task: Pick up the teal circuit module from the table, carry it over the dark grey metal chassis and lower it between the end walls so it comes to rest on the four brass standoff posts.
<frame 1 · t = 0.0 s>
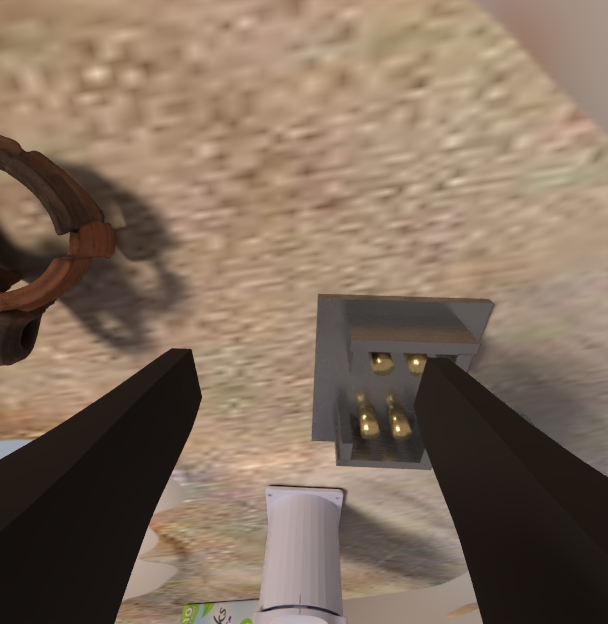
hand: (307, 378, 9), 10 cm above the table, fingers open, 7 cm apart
pottery mug: (47, 239, 18), on the table
snack box: (249, 602, 48), on the table
chassis: (385, 377, 22), on the table
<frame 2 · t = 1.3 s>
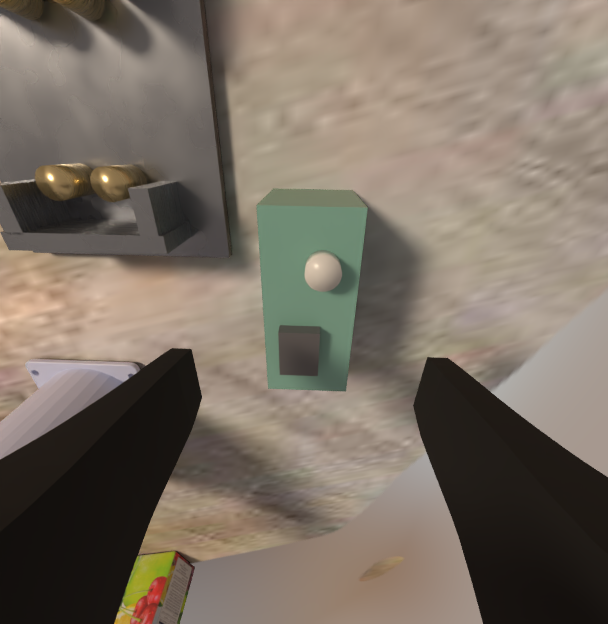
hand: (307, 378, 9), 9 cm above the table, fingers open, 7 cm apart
board: (310, 271, 17), on the table
snack box: (118, 563, 39), on the table
chassis: (94, 101, 13), on the table
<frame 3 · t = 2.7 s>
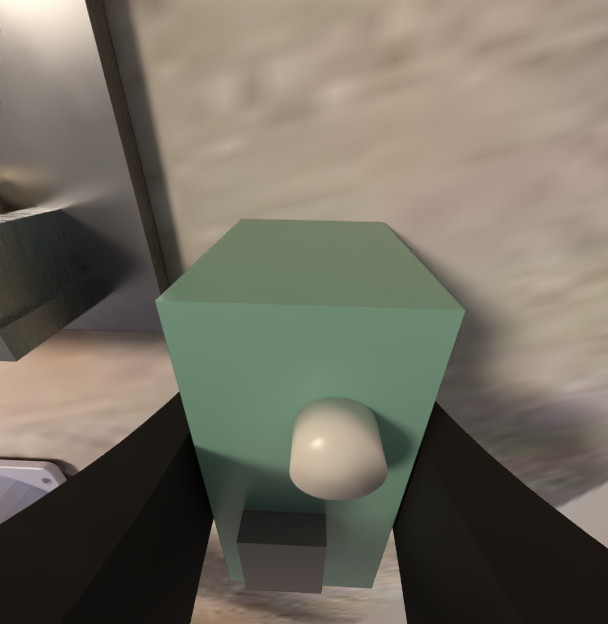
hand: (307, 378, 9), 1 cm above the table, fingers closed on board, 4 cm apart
board: (308, 349, 10), on the table, touching gripper
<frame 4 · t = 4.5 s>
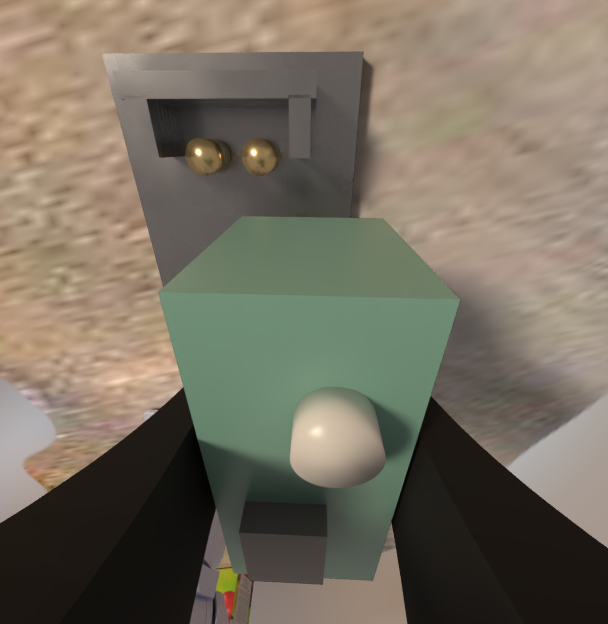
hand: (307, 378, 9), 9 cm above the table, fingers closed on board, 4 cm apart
board: (309, 346, 10), point 8 cm above the table, touching gripper
snack box: (181, 577, 42), on the table
chassis: (249, 221, 16), on the table
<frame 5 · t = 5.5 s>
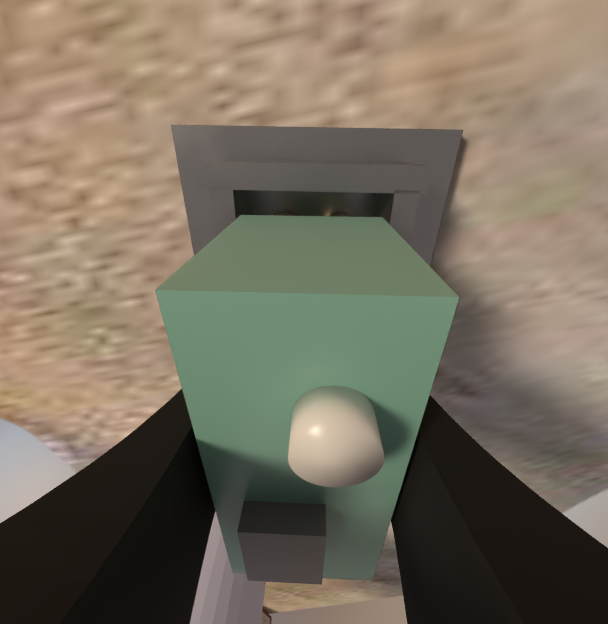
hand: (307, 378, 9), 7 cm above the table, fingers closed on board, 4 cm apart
board: (308, 345, 10), point 5 cm above the table, touching gripper
chassis: (310, 289, 15), on the table
when the fingers open (5 cm above the table, at t = 6.3 s): board stays where it is, resting on chassis.
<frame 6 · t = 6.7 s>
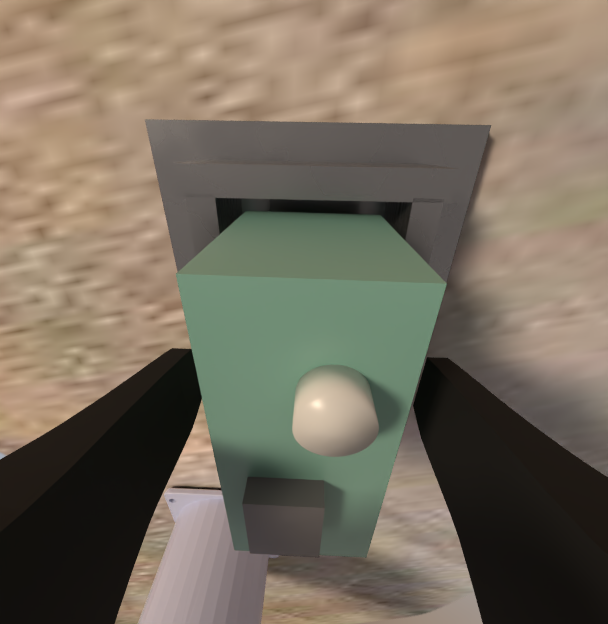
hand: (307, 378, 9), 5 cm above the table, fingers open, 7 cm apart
board: (308, 337, 11), point 3 cm above the table, touching chassis
chassis: (310, 306, 13), on the table
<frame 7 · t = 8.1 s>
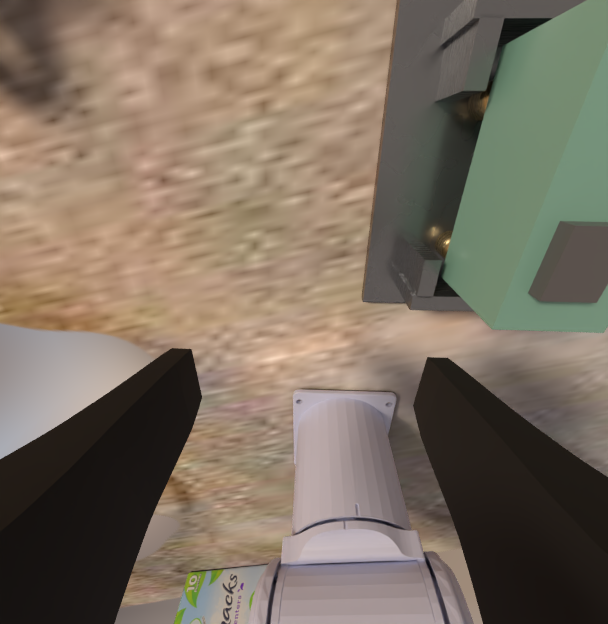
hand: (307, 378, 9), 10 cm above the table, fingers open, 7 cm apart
board: (512, 182, 13), point 3 cm above the table, touching chassis
snack box: (264, 569, 41), on the table
chassis: (482, 179, 15), on the table
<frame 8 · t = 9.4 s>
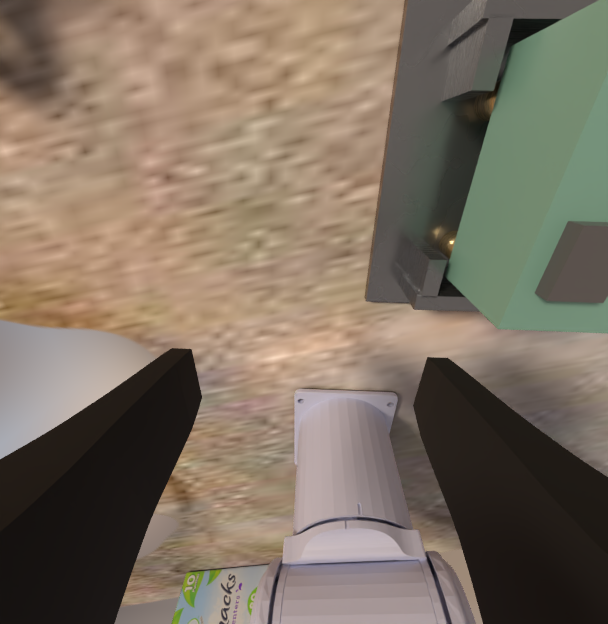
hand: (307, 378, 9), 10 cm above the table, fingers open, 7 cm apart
board: (517, 182, 13), point 3 cm above the table, touching chassis
snack box: (262, 569, 41), on the table
chassis: (487, 180, 15), on the table
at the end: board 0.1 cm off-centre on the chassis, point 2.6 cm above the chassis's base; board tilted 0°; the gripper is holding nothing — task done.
